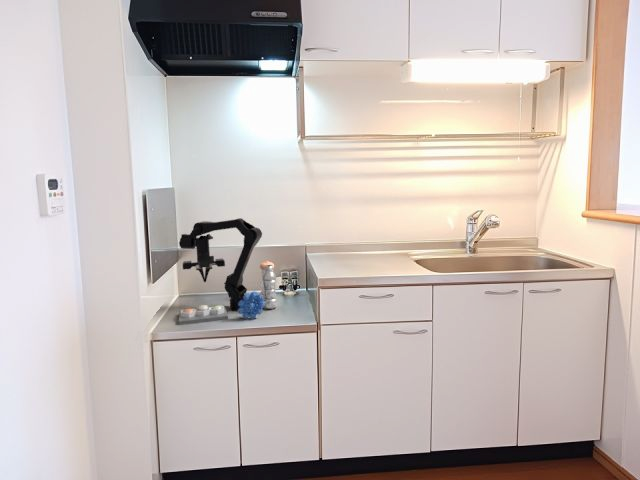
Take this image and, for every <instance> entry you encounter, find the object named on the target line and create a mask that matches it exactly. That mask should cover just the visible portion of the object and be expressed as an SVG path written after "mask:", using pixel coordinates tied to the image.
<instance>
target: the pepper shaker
mask: <svg viewBox="0 0 640 480" xmlns="http://www.w3.org/2000/svg"><path fill="white" fill-rule="evenodd" d="M265 265H273V269H274V268H275V264H274V263H273V262H271V261H269V260H265V261H264V262H261V263H260V264H259V268H260V269H261V277H262V276H263V274H264V272H265ZM260 288H261V289H260V290H261V291H260V294H262V295H263V299H262V300H264V285H263V279H262V278H261V284H260Z"/></svg>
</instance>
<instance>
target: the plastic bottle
mask: <svg viewBox="0 0 640 480" xmlns="http://www.w3.org/2000/svg"><path fill="white" fill-rule="evenodd" d="M276 275H277V274H276V273H275V272H274V268H273V265H265V272H264V274H263V276H262V275H261V280H262V279H263V285H264V301H265V306H264V307H263V308H264V309H266V310H267V309H269V310H271V309H272V310H273V309H275V308H277V305H278V299H277V293H276V285H277V276H276Z"/></svg>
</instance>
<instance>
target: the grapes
mask: <svg viewBox="0 0 640 480" xmlns="http://www.w3.org/2000/svg"><path fill="white" fill-rule="evenodd" d="M243 299H244V300H240V301H239V303H238V305H239V306H240V308H239V309H238V310H237V312H238V314H239V315H241V316H242V318H243V319H244V320H246V319H248V318H250V319H251V320H253V319H256V317H257V315H261V314H262V313H263V308H265V307H264V306H265V301H264V300H262V299H263V295H262V294H261V293H260V294H259V293H258V292H257V291H255V290H254V291H252V292H250V294H249V293H245V295H244V296H243Z"/></svg>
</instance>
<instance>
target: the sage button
mask: <svg viewBox="0 0 640 480" xmlns="http://www.w3.org/2000/svg"><path fill="white" fill-rule="evenodd" d="M222 306H223V305H219V304H218V305H213V306H211V307H212V309H215V310H218V309H221V308H222Z"/></svg>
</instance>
